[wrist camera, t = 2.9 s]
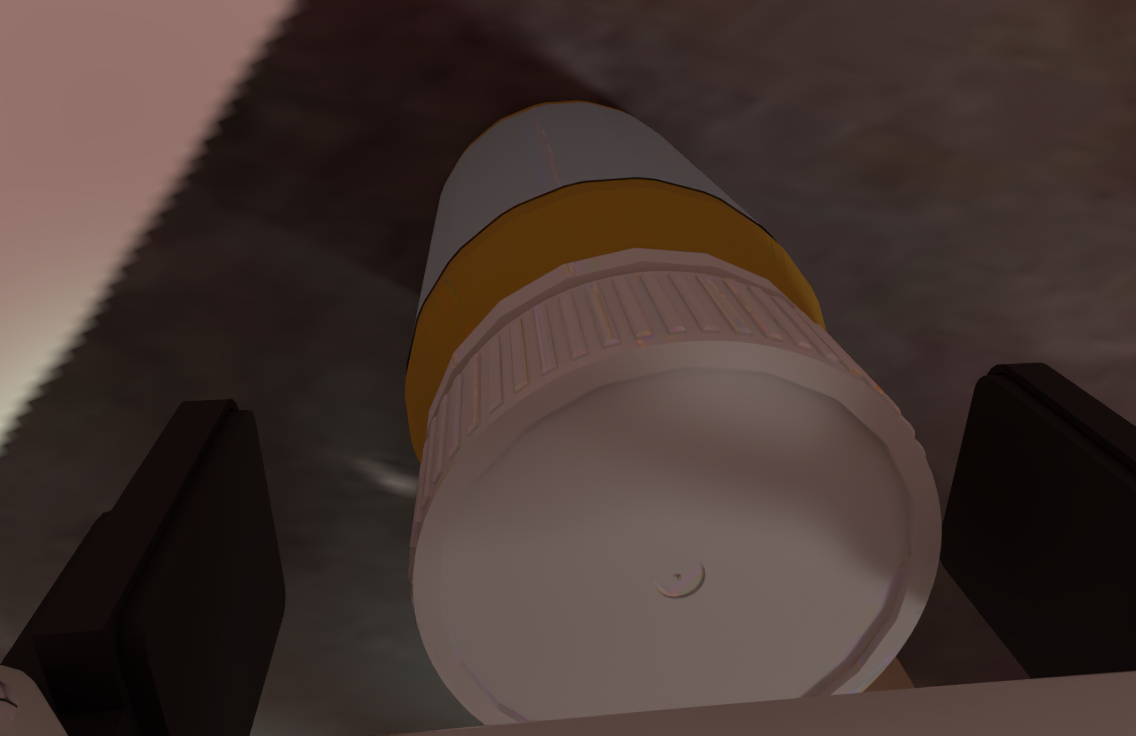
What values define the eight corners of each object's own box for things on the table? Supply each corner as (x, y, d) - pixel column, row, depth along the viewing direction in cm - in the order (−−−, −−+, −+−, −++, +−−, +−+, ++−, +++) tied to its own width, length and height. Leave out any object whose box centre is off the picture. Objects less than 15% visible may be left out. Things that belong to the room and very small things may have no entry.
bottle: (497, 381, 25) (515, 863, 11) (392, 157, 22) (246, 448, 8) (722, 294, 24) (1019, 691, 11) (645, 54, 21) (921, 185, 8)
